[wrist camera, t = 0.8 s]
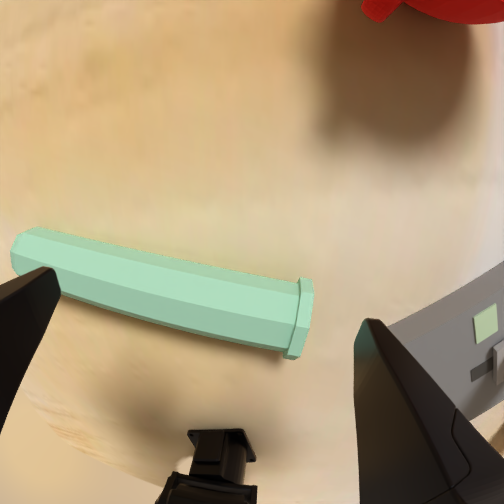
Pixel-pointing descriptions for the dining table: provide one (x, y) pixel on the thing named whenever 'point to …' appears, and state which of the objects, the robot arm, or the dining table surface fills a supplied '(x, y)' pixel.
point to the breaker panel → (461, 341)
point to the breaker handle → (498, 363)
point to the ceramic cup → (441, 10)
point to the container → (173, 290)
